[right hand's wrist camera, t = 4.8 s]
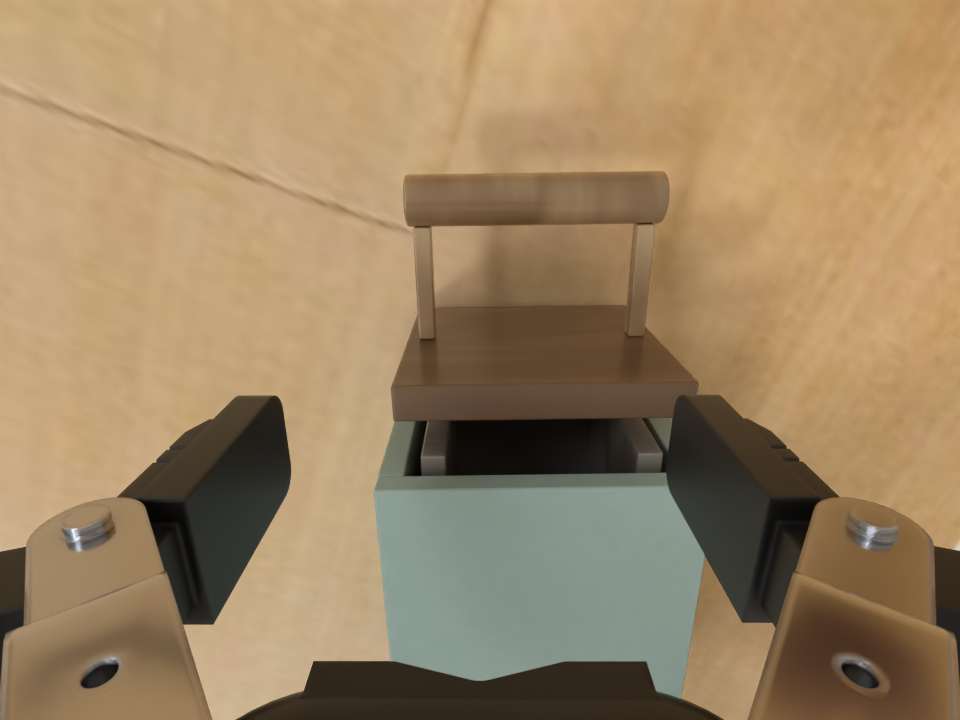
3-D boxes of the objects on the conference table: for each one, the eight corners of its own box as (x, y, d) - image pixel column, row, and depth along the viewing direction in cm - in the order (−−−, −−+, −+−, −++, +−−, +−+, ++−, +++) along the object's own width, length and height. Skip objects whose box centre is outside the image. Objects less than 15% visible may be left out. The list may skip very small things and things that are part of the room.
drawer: (411, 170, 22) (374, 182, 14) (637, 167, 22) (729, 177, 14) (436, 624, 31) (422, 791, 23) (598, 621, 31) (641, 788, 23)
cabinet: (411, 363, 26) (372, 490, 16) (628, 360, 26) (718, 485, 16) (430, 663, 33) (411, 877, 23) (600, 661, 33) (652, 874, 23)
